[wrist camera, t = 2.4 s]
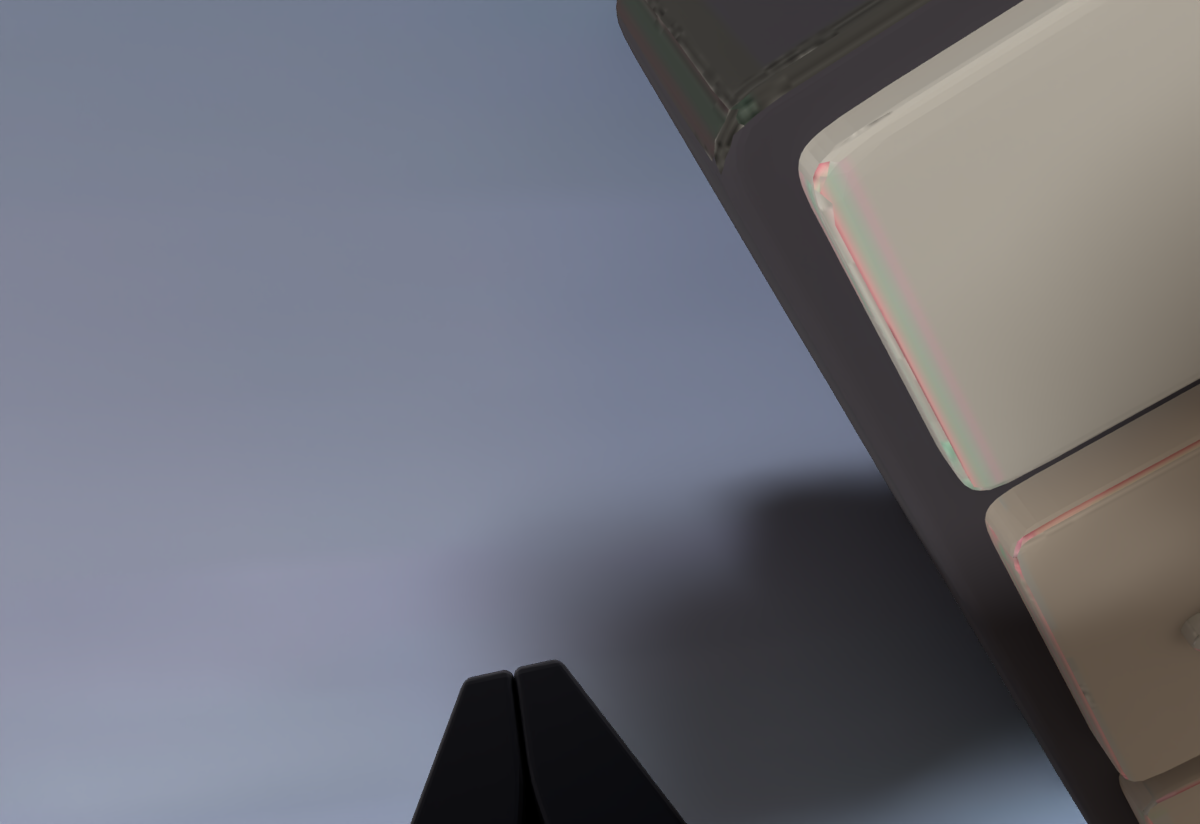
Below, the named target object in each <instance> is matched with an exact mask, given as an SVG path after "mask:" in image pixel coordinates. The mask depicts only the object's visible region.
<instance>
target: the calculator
mask: <svg viewBox="0 0 1200 824" xmlns="http://www.w3.org/2000/svg"><path fill="white" fill-rule="evenodd" d="M616 10H617V18H618V23H619V26H620V28H621V30H622V33H623V35H624V37H625V39H626V41H627V43H628V45H629V47H630V49H631V50H632V52H633V54H634V56H635V58H636V60H637V61H638V63H639V65H640V66H641V68H642V70H643V71H644V73H645V75H646V77H647V78H648V80H649V82H650V83H651V85H652V87H653V88H654V90H655V92H656V94H657V95H658V97H659V99H660V100H661V102H662V104H663V105H664V107H665V109H666V111H667V112H668V114H669V116H670V117H671V119H672V121H673V122H674V124H675V126H676V128H677V129H678V131H679V133H680V134H681V136H682V138H683V139H684V141H685V143H686V144H687V146H688V148H689V150H690V151H691V153H692V155H693V156H694V158H695V160H696V161H697V163H698V165H699V167H700V168H701V170H702V172H703V173H704V175H705V177H706V178H707V180H708V182H709V184H710V185H711V187H712V189H713V190H714V192H715V194H716V195H717V197H718V199H719V201H720V202H721V204H722V206H723V207H724V209H725V211H726V212H727V214H728V216H729V217H730V219H731V221H732V223H733V224H734V226H735V228H736V229H737V231H738V233H739V234H740V236H741V238H742V240H743V241H744V243H745V245H746V246H747V248H748V250H749V251H750V253H751V255H752V257H753V258H754V260H755V262H756V263H757V265H758V267H759V268H760V270H761V272H762V274H763V275H764V277H765V279H766V280H767V282H768V284H769V285H770V287H771V289H772V290H773V292H774V294H775V296H776V297H777V299H778V301H779V302H780V304H781V306H782V307H783V309H784V311H785V312H786V314H787V316H788V318H789V319H790V321H791V323H792V324H793V326H794V328H795V329H796V331H797V333H798V334H799V336H800V338H801V339H802V341H803V343H804V344H805V346H806V348H807V349H808V351H809V353H810V354H811V356H812V358H813V359H814V361H815V363H816V364H817V366H818V368H819V369H820V371H821V373H822V374H823V376H824V378H825V379H826V381H827V383H828V384H829V386H830V388H831V389H832V391H833V393H834V395H835V396H836V398H837V400H838V401H839V403H840V405H841V407H842V408H843V410H844V412H845V413H846V415H847V417H848V418H849V420H850V422H851V424H852V425H853V427H854V429H855V430H856V432H857V434H858V435H859V437H860V439H861V441H862V442H863V444H864V446H865V447H866V449H867V451H868V452H869V454H870V456H871V458H872V459H873V461H874V463H875V464H876V466H877V468H878V470H879V471H880V473H881V475H882V476H883V478H884V480H885V481H886V483H887V485H888V487H889V488H890V490H891V492H892V493H893V495H894V497H895V498H896V500H897V502H898V504H899V505H900V507H901V509H902V510H903V512H904V514H905V515H906V517H907V519H908V521H909V522H910V524H911V526H912V527H913V529H914V531H915V533H916V534H917V536H918V538H919V539H920V541H921V543H922V544H923V546H924V548H925V550H926V551H927V553H928V555H929V556H930V558H931V560H932V561H933V563H934V565H935V567H936V568H937V570H938V572H939V573H940V575H941V577H942V578H943V580H944V582H945V584H946V585H947V587H948V589H949V590H950V592H951V594H952V596H953V597H954V599H955V601H956V602H957V604H958V606H959V607H960V609H961V611H962V613H963V614H964V616H965V618H966V619H967V621H968V623H969V624H970V626H971V628H972V630H973V631H974V633H975V635H976V636H977V638H978V640H979V641H980V643H981V645H982V647H983V648H984V650H985V652H986V653H987V655H988V657H989V659H990V660H991V662H992V664H993V665H994V667H995V669H996V670H997V672H998V674H999V676H1000V677H1001V679H1002V681H1003V682H1004V684H1005V686H1006V687H1007V689H1008V691H1009V693H1010V694H1011V696H1012V698H1013V699H1014V701H1015V703H1016V704H1017V706H1018V708H1019V710H1020V711H1021V713H1022V715H1023V716H1024V718H1025V720H1026V721H1027V723H1028V725H1029V727H1030V728H1031V730H1032V732H1033V733H1034V735H1035V737H1036V738H1037V740H1038V742H1039V744H1040V745H1041V747H1042V749H1043V750H1044V752H1045V754H1046V755H1047V757H1048V759H1049V761H1050V762H1051V764H1052V766H1053V767H1054V769H1055V771H1056V772H1057V774H1058V776H1059V777H1060V779H1061V781H1062V782H1063V784H1064V786H1065V787H1066V789H1067V791H1068V792H1069V794H1070V796H1071V797H1072V799H1073V801H1074V802H1075V804H1076V805H1077V807H1078V809H1079V810H1080V812H1081V814H1082V815H1083V817H1084V819H1085V820H1086V822H1087V823H1088V824H1200V0H617V5H616Z"/></svg>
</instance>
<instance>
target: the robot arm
mask: <svg viewBox="0 0 1200 824" xmlns="http://www.w3.org/2000/svg"><path fill="white" fill-rule="evenodd" d="M411 824H687V823H686V822H685V821H684V820H683V818H682V817H681V816H680V814H679V813H678V812H677V810H676V809H675V808H674V807H673V805H672V804H671V803H670V801H669V800H668V799H667V797H666V796H665V795H664V794H663V792H662V791H661V790H660V788H659V787H658V786H657V784H656V783H655V782H654V781H653V779H652V778H651V777H650V775H649V774H648V773H647V771H646V770H645V769H644V768H643V766H642V765H641V764H640V762H639V761H638V760H637V758H636V757H635V756H634V754H633V753H632V752H631V751H630V749H629V748H628V747H627V745H626V744H625V743H624V741H623V740H622V739H621V738H620V736H619V735H618V734H617V732H616V731H615V730H614V728H613V727H612V726H611V725H610V723H609V722H608V721H607V719H606V718H605V717H604V715H603V714H602V713H601V712H600V710H599V709H598V708H597V706H596V705H595V704H594V702H593V701H592V700H591V699H590V697H589V696H588V695H587V693H586V692H585V691H584V689H583V688H582V687H581V686H580V684H579V683H578V682H577V680H576V679H575V678H574V676H573V675H572V674H571V672H570V671H569V670H568V669H567V667H566V666H565V665H564V664H563V663H562V662H560V661H558V660H550V661H545V662H540V663H535V664H531V665H526V666H521V667H519V668H518V669H517V670H516V671H515V673H514V676H513V675H512V673H511V672H509V671H507V670H502V671H498V672H493V673H488V674H483V675H479V676H474V677H470V678H468V679H467V680H466V681H465V682H464V683H463V685H462V687H461V689H460V692H459V695H458V697H457V700H456V703H455V706H454V708H453V711H452V714H451V716H450V719H449V722H448V724H447V727H446V730H445V732H444V735H443V738H442V740H441V743H440V746H439V749H438V751H437V754H436V757H435V759H434V762H433V765H432V767H431V770H430V773H429V775H428V778H427V781H426V783H425V786H424V789H423V791H422V794H421V797H420V800H419V802H418V805H417V808H416V810H415V813H414V816H413V818H412V821H411Z"/></svg>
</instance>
